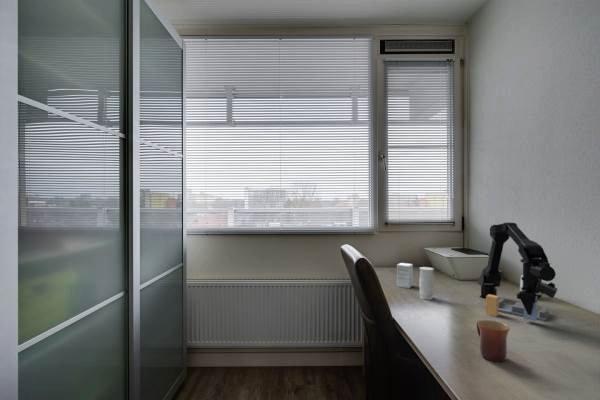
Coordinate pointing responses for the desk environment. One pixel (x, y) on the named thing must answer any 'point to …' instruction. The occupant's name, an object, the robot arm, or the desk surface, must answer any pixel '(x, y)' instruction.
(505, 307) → the grey slotted base
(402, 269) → the supplement box
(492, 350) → the mug
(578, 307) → the desk surface
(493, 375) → the desk surface
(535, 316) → the blue plug
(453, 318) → the desk surface
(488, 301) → the tan rectangular box
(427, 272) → the candle
